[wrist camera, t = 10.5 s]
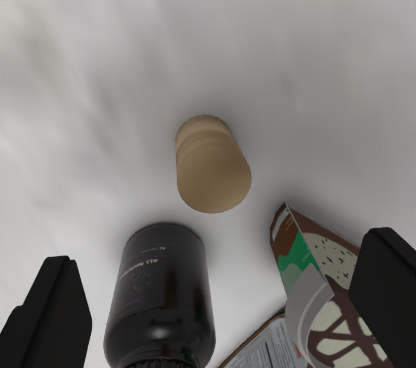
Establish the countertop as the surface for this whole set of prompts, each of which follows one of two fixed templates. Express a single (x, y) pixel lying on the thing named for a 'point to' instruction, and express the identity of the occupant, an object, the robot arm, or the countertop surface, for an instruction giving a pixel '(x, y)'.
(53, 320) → the robot arm
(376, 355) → the food container
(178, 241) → the supplement bottle
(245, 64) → the countertop surface
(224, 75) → the countertop surface
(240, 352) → the tin
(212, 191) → the oak bead
